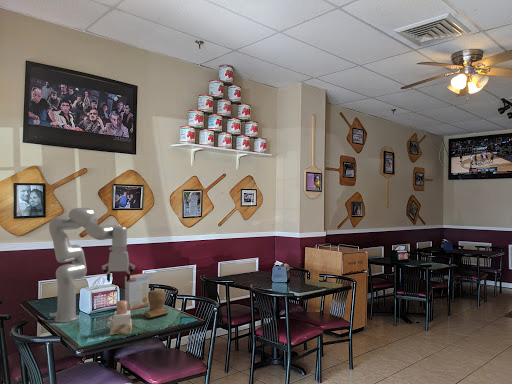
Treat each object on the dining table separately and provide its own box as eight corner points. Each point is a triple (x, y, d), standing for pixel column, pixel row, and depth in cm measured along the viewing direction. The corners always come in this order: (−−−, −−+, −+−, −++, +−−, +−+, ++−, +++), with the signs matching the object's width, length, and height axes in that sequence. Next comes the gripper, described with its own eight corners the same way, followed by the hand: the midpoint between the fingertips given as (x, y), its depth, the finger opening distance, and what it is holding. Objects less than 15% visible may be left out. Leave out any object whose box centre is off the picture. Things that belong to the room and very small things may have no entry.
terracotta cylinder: (116, 314, 213) (116, 303, 213) (117, 311, 218) (117, 300, 218) (126, 314, 214) (126, 302, 214) (127, 311, 219) (127, 300, 219)
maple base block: (110, 335, 210) (110, 325, 210) (112, 329, 220) (112, 320, 220) (130, 334, 212) (130, 324, 212) (131, 328, 222) (131, 318, 222)
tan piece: (159, 310, 255) (159, 286, 255) (171, 314, 247) (172, 289, 247) (138, 316, 243) (139, 291, 243) (151, 320, 235) (151, 294, 236)
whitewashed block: (113, 325, 211) (114, 315, 211) (114, 320, 218) (114, 311, 218) (130, 324, 213) (130, 314, 213) (130, 319, 221) (130, 310, 221)
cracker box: (144, 304, 269) (144, 272, 269) (148, 306, 265) (149, 274, 265) (124, 308, 259) (124, 275, 259) (129, 310, 255) (129, 277, 255)
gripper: (101, 250, 214) (100, 283, 214) (135, 250, 217) (134, 282, 217) (103, 248, 221) (102, 280, 221) (136, 248, 225) (135, 279, 225)
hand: (118, 281), depth 219 cm, fingers open, 9 cm apart
